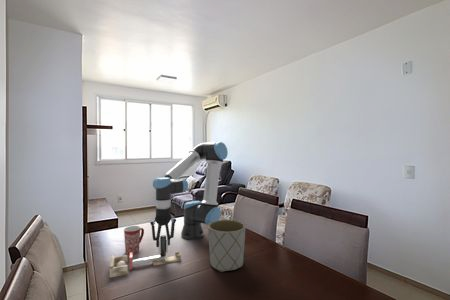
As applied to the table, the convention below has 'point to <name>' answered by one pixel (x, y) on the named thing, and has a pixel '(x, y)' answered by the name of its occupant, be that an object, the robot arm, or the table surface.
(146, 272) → the table surface
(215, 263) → the planter
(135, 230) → the mug
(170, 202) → the robot arm
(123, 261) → the ball
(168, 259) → the strip
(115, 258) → the beige block
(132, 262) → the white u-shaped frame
